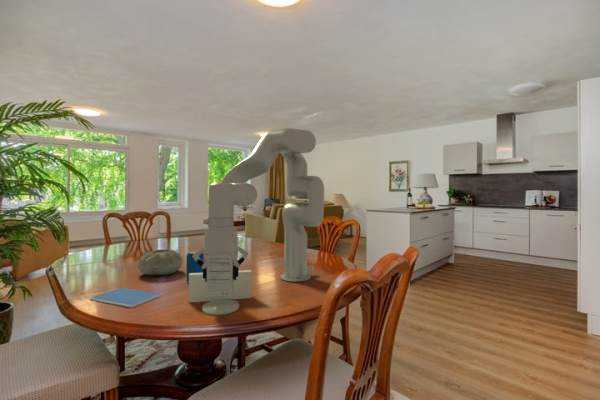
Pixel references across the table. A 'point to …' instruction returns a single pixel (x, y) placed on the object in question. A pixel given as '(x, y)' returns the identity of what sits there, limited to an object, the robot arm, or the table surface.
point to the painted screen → (200, 295)
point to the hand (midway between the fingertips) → (220, 279)
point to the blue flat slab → (126, 297)
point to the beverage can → (193, 264)
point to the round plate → (220, 307)
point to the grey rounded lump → (160, 262)
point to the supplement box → (220, 275)
